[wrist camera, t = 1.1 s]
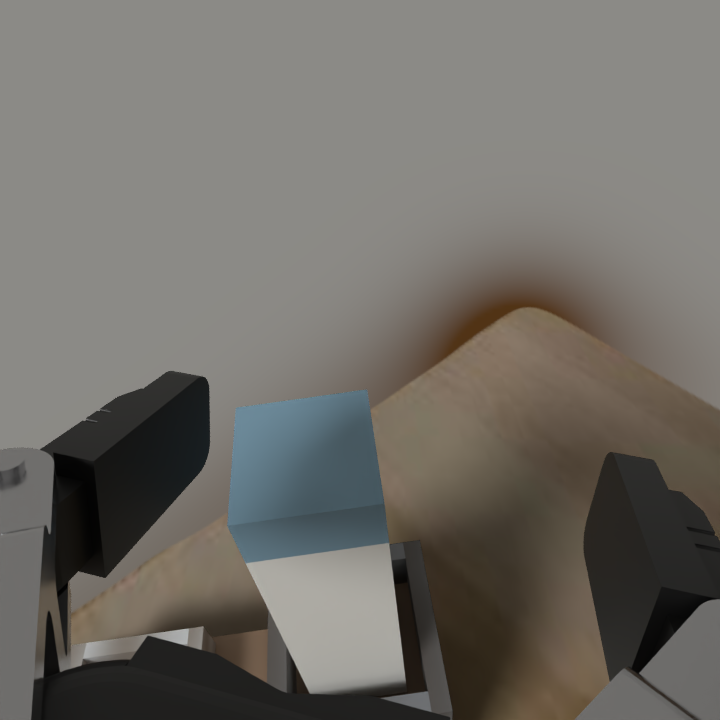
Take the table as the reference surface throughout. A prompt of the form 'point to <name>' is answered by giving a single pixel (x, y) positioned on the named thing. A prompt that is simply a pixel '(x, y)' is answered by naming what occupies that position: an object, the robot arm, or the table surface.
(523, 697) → the table surface
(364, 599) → the plug
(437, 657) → the square socket stand
